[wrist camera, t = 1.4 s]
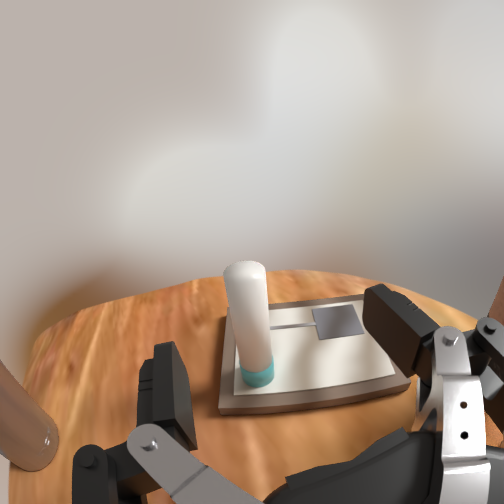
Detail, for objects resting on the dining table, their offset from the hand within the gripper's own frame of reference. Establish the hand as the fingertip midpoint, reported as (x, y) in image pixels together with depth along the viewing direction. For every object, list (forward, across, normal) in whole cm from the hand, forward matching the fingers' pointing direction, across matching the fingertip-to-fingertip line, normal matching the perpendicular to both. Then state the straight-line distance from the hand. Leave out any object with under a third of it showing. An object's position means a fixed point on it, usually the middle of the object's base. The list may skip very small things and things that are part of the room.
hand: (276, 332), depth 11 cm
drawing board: (+14, -7, +18) cm, 24 cm away
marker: (+11, 0, +16) cm, 20 cm away
